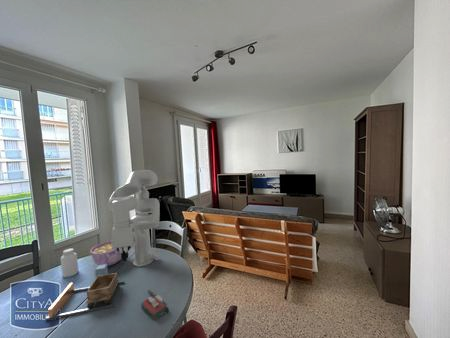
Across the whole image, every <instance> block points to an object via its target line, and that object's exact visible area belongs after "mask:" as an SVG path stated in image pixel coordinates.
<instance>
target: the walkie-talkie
mask: <svg viewBox="0 0 450 338" xmlns="http://www.w3.org/2000/svg"><path fill="white" fill-rule="evenodd" d="M147 293H148V294H149V295H150V296H149V297H148V298H146V299H145V300H144V301H142V303H141V310H142V309H143V310H144V311H145V312H146V313H147V316H149V317H150V319H152V321H156V320H157V318H158V319H159V318H161V317H162V316H164V315H165V314H166V313H168V312H169V311H170V309H169V307H167V305H166V304H165V303H164V301H163V297H162V296H160V294H155V293H154V292H152V291H151V290H150V289H149V290H147ZM143 310H142V311H143ZM144 311H143V312H144ZM145 312H144V313H145ZM165 312H166V313H165ZM146 313H145V314H146ZM164 313H165V314H164ZM161 315H162V316H161ZM160 316H161V317H160Z"/></svg>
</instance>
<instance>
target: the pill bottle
mask: <svg viewBox="0 0 450 338" xmlns="http://www.w3.org/2000/svg"><path fill="white" fill-rule="evenodd" d="M78 262H79V261H78V254H77V253H76V252H75V249H74V248H67V249H64V250H63V251H62V256H61V257H60V266H61V275H62V278H70V277H73V276H75V275H76V274H78V273H79V263H78Z"/></svg>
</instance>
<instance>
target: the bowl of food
mask: <svg viewBox="0 0 450 338" xmlns="http://www.w3.org/2000/svg"><path fill="white" fill-rule="evenodd" d="M123 249H124V250H125V247H123ZM89 252H90V255H91V258H92V260H93V262H94V264H96V265H97V266H98V265H104V264H107V267H110V266H113V265H115V264H116V263H118V262H119V261H120V260H122V259H121V253H120V252H119V251H117V250H112V240H108V241H104V242H101V243H99V244H96V245H95V246H93V247H92V248H91V249H90V251H89Z"/></svg>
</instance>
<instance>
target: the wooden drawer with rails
mask: <svg viewBox="0 0 450 338" xmlns="http://www.w3.org/2000/svg"><path fill="white" fill-rule="evenodd" d="M122 284H125V280H119V284H118V285H122ZM89 288H90V286H86V287H80V288H75V287H74V282H70V283H69V284H68V285H67V286H66V288H64V290H63V291H62V292H61V294H59V296H58V297H57V298H56V300H54V302H53V303H52V304H51V305H50V306H49V308H48V316H46V317H45V321H46V320H48V321H52V320H51V319H53V320H56V319H55V318H58V319H60V318H59V317H63V318H66V317H67V316H68V317H72V316H75V315H81V314H87V313H90V312H96V311H100V310H105V309H110V308H115V306H116V303H115V302H112V303H111V302H110V304H106V305H105V304H102V305H97V306H93V307H92V308H88V307H87V308H82V309H77V310H72V311H68V312H63V313H57V315H55V313H56V312H57V310H58V309H60V310H61V309H62V308H63V307H64V306H63V305H65V304H66V303H67V301H68V300H69V299H70V297H71V296H73V295H74V294H73V293H80V292H85V291H86V292H87V291H88V289H89ZM68 317H67V318H68Z"/></svg>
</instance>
